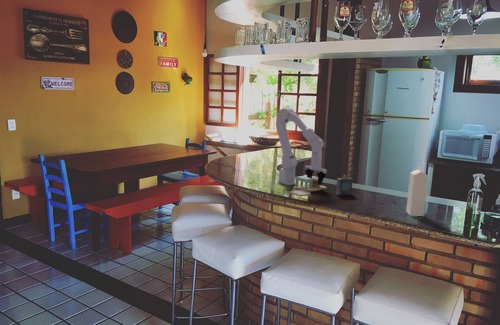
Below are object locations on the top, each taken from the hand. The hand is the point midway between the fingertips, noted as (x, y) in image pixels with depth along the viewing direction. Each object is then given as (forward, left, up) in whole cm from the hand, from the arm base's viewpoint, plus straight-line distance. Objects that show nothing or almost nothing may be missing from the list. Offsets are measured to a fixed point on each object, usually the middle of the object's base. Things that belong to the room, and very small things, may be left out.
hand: (314, 183), depth 224 cm
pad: (+5, -17, -3) cm, 18 cm away
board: (0, -4, -2) cm, 5 cm away
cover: (0, -9, -1) cm, 9 cm away
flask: (+19, +2, -3) cm, 19 cm away
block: (0, 0, -3) cm, 3 cm away
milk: (+60, +1, -3) cm, 60 cm away
